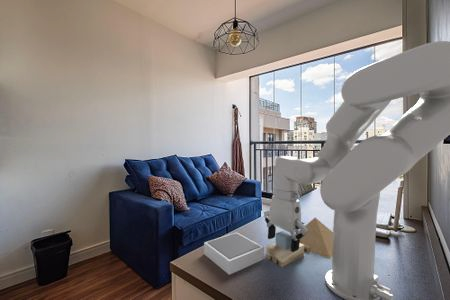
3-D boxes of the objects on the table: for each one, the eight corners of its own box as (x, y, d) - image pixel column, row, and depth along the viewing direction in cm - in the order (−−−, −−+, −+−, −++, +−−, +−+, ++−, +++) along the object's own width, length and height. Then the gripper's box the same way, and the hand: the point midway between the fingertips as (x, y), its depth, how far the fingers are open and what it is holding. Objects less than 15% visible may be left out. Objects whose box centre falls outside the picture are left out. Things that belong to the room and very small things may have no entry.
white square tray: (263, 259, 71) (263, 246, 71) (229, 274, 63) (229, 260, 63) (236, 242, 83) (236, 231, 82) (204, 254, 74) (204, 241, 74)
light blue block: (295, 245, 73) (295, 233, 72) (285, 250, 70) (285, 237, 69) (285, 241, 76) (285, 229, 76) (275, 245, 73) (275, 233, 73)
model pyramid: (282, 244, 82) (283, 218, 82) (302, 230, 95) (302, 207, 94) (330, 261, 71) (331, 231, 71) (344, 242, 84) (345, 217, 83)
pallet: (303, 256, 73) (304, 244, 73) (282, 267, 67) (282, 254, 67) (287, 248, 79) (287, 237, 79) (265, 257, 72) (266, 246, 72)
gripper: (316, 199, 67) (312, 252, 69) (272, 186, 81) (270, 231, 83) (301, 203, 63) (297, 260, 64) (258, 189, 77) (256, 236, 78)
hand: (282, 244), depth 74 cm, fingers open, 9 cm apart
